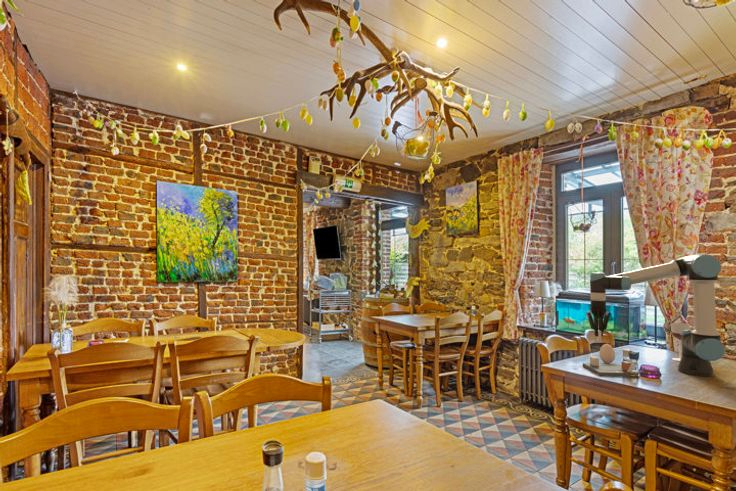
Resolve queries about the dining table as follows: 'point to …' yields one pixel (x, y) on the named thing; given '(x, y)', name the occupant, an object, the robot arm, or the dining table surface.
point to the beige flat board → (608, 370)
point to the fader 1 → (594, 361)
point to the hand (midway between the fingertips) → (598, 342)
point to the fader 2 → (625, 365)
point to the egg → (607, 354)
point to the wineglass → (678, 334)
